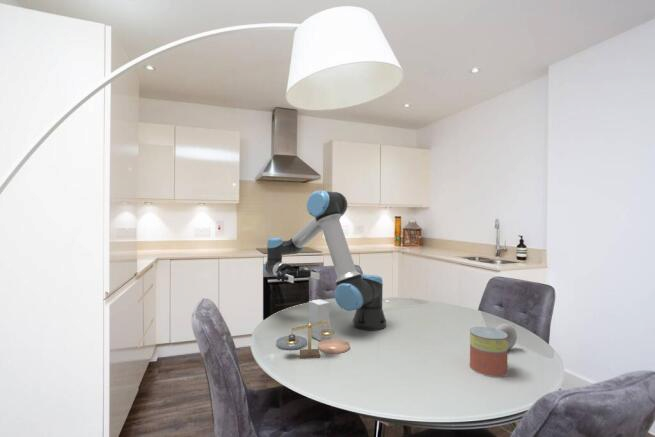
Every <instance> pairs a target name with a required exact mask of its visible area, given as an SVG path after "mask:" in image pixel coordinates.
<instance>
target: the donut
mask: <svg viewBox="0 0 655 437" xmlns="http://www.w3.org/2000/svg"><path fill="white" fill-rule="evenodd" d="M494 329H498V330H501V331H503V332H505V333H507V334H508V351H509V350H511V349H512V348H513V347H514V346H515V345H516V342H517V339H518V335H517V331H516V329H515V327H514V326H513V325H511V324H509V323H500V324H498V325H497V326H496V327H495V328H494Z"/></svg>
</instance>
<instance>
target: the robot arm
mask: <svg viewBox="0 0 655 437" xmlns="http://www.w3.org/2000/svg"><path fill="white" fill-rule="evenodd" d="M306 209H307V210H306V211H307V212H308V214H309V216H312V217H313V218H312V219H311V220H310V221H309V222H308V223H306V225H304V226H303V227H302V228H301V229H299V231H298V232H296V233H295V234H294V235H293V236H292V237H291V238H290V239H288V240H283V238H282V237H269V238H267V245H266V248H267V250H266V251H267V253H266V254H267V258H266V262H265V263H264V265H263V270H264V272H265V273H266V274H268V275H269V276H273V277H276V279H277V280H276V281H281V282H282V283H284V282H285V281H286V282H288V283H291V284H294V283H295V281H294V280H295V278H299V277H307V278H308V277H310V278H312V279H315V280H321V273H320V272H317V271H316V270H314V269H311V270H310V269H302V268H294V267H293V266H292V265H291V264H287V263H285V262H283V256H288V255H296V254H299V253H302V251H303V247H305V245H307V244H308V243H309V242H310V241H311V240H312V239H314V238H315V237H316V236H318V234H319V233H321V232H322V234H323V236H324V238H325V242H326V246H327V249H328V251H329V256H330V258H331V261H332V263H333V267H334V270H335V273H336V276H337V278H336V280H335V285H336V288H335V290H334V292H333V293H334V300H335V302H336V304H337V305H338V306H339V307H340V308H341V309H343V310H344V311H347V312H352V311H355V312H354V317H353V318H352V325H353V326H354V327H355V328H356V329H360V330H365V331H379V330H384V329H385V328H386V327H387V320H386V316H385V313H384V309H383V285H384V284H383V278H382V277H381V276H379V275H373V274H362V273H360V272H358V271H357V269H356V266H355V262H354V260H353V256H352V253H351V251H350V248H349V245H348V241H347V239H346V235H345V234H344V233H345V232H344V229H343V227H342V224H341V222H340V219H341V218H342V216H344V214H346V211H347V210H348V200H347V198H346V197H345V196H344V195H343V194H342V193H340V192H337V191H329V190H328V191H327V190H322V189H321V190H315V191H314V192H312V193H311V194H310V195H309V196H308V199H307V202H306Z"/></svg>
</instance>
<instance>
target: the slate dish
mask: <svg viewBox="0 0 655 437" xmlns="http://www.w3.org/2000/svg"><path fill="white" fill-rule="evenodd" d="M288 336H289V335H284V336H282V337H281V336H280V337H279V338H277V339H276V341H275V343H276V344H275V345H276V346H275V347H277V348H278V349H281V350H284V351H297V350H302V349H304V348H305V347H307V346H308V338H306V337H304V336H301V335H295V338H297V339H298V340H299V343H297V344H293V345H290V344H286V343H285V340H286V339H288Z"/></svg>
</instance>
